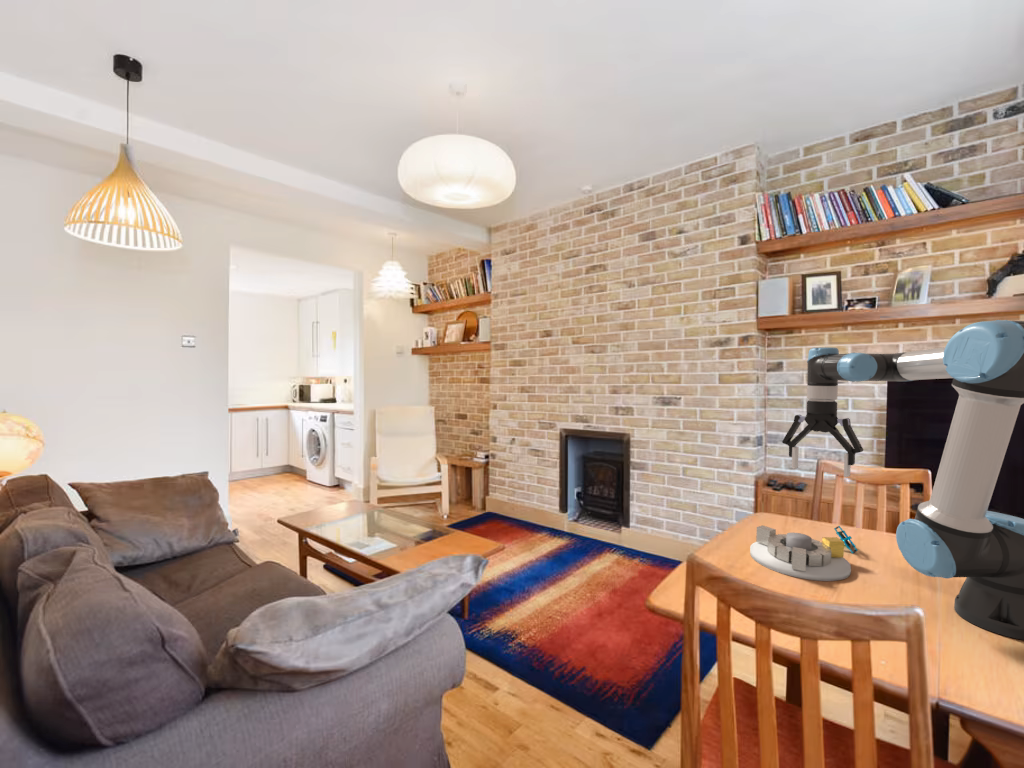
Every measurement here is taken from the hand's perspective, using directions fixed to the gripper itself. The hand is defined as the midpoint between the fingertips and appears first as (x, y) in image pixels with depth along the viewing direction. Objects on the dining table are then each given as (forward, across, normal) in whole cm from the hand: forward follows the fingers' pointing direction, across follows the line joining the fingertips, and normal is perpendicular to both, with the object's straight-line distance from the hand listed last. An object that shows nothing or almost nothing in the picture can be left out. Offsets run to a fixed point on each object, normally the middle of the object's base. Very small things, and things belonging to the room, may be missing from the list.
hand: (819, 472), depth 139 cm
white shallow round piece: (+23, 0, +13) cm, 27 cm away
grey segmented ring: (+22, -1, +12) cm, 25 cm away
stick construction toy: (+24, -3, -8) cm, 25 cm away
